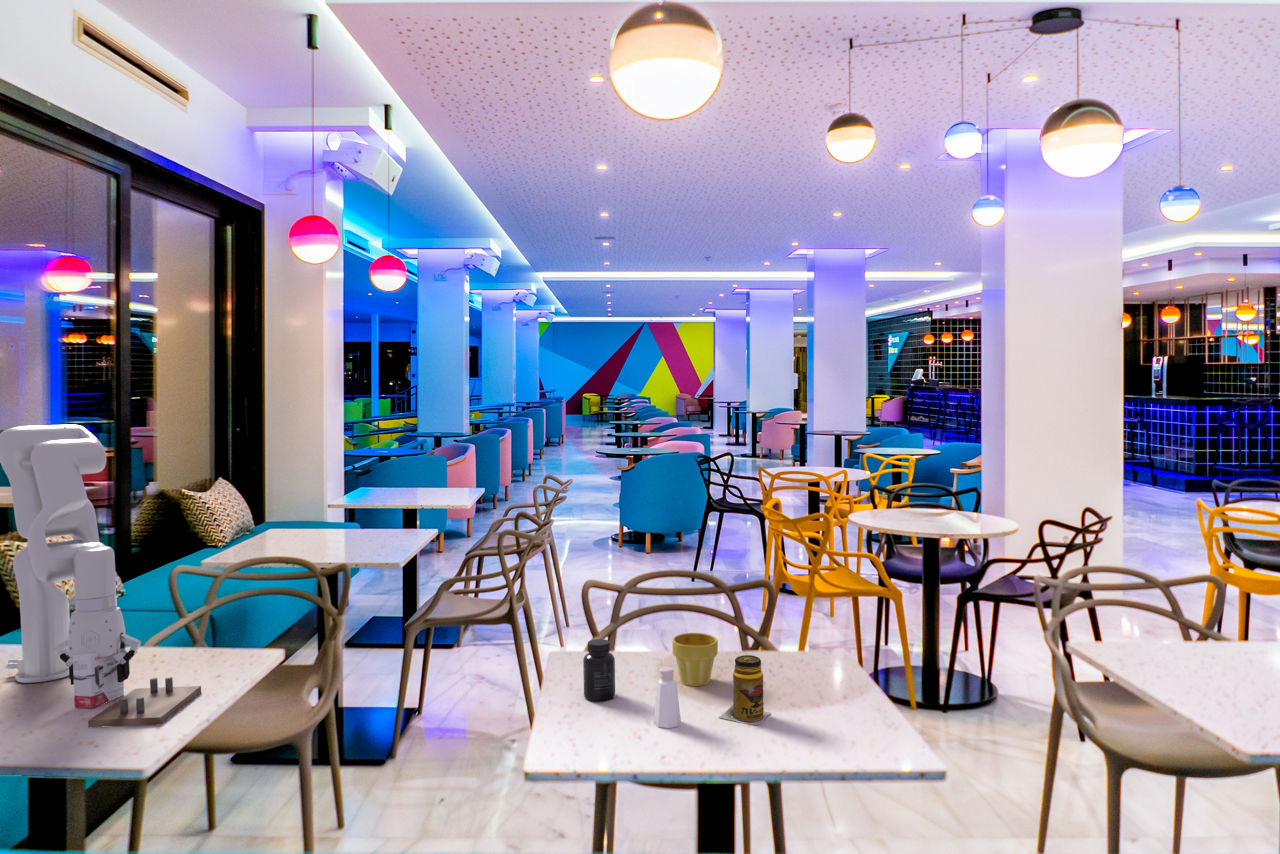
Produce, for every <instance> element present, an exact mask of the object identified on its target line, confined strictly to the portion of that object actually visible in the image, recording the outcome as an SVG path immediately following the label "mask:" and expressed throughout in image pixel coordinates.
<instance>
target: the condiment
mask: <svg viewBox="0 0 1280 854" xmlns="http://www.w3.org/2000/svg"><path fill="white" fill-rule="evenodd" d="M732 673H733V674H732V677H733V678H732V683H733V684H732V686H733V689H732V690H733V691H732V694H733V697H732V700H733V701H732V702H733V704H732V705H731V706H730V707H728V709H726V710H725V711H724V712H723V713H722V714H721V715H720V716H718V718H719V719H724V720H729V721H733V722H738V723H741V724H747V725H751V726H759V725H760V724H761V723H762V722H763V721H765V719H766V718H767V717H768V716H769V715H770V714H771V713H772V712H770V711H765V710H764V704H765V703H764V673H763V671H762V659H761V658H760V657H758V656H755V655H750V654H744V655H739V656H737V657H736V658H735V659H734V670H733V672H732Z"/></svg>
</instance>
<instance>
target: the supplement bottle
mask: <svg viewBox="0 0 1280 854" xmlns="http://www.w3.org/2000/svg"><path fill="white" fill-rule="evenodd" d="M586 649H587V653H586V654H585V655H584V657H583V660H582V661H583V662H582V667H583V697H584V698H585V699H586V700H587V701H589V702H593V703H603V702H608V701H610V700H613V699H614V698H615V696H616V664H615V663H616V659H615V656H614V655H613V654H612V652H610V651H611V642H610V640H608V639H604V638H595V639H590V640H589V641H587V648H586Z"/></svg>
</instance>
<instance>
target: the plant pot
mask: <svg viewBox="0 0 1280 854" xmlns="http://www.w3.org/2000/svg"><path fill="white" fill-rule="evenodd" d="M671 641H672V644H671V647H672V655H674V657H675V661H676V666H677V671H678V675H679V680H680V682H681V684H683V685H686V686H689V687H690V686H691V687H701V686H706V685H707V684H709V682H710V680H711V677H712V676H711V675H712V671H713V666H714V662H715V657H717V656H718V652H719V651H718V650H719V642H718V641H719V640H718V638H717V637H716V636H715V635H712V634H710V633H709V634H708V633H702V632H685V633H679V634H677V635H675V636H674V637H673V638H672V640H671Z"/></svg>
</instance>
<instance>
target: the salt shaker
mask: <svg viewBox="0 0 1280 854" xmlns="http://www.w3.org/2000/svg"><path fill="white" fill-rule="evenodd" d="M659 672H660V673H659V677H660V678H659V680H657V686H656V696H655V706H654V715H653V716H654V717H653V724H654V725H655V726H656V727H658V728H662V729H673V728H678V726H680V724H681V723H682V719H681V718H682V717H681V712H680V709H681V708H680V702H679V700H680V699H679V693H678V685H677V681H676V680H675V679H674V675H675V674H674V672H675V669H674V668H673V667H670V666H663V667H660V668H659Z"/></svg>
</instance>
